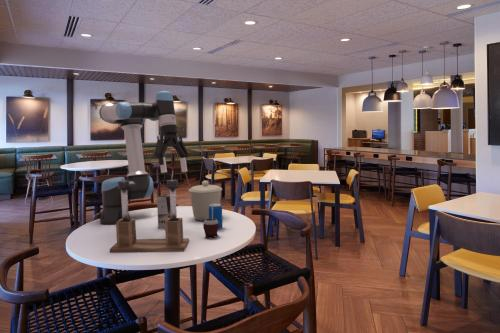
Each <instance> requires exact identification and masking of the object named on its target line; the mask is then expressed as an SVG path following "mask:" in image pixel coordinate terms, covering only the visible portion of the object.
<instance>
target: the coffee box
mask: <svg viewBox="0 0 500 333" xmlns="http://www.w3.org/2000/svg"><path fill="white" fill-rule="evenodd" d="M156 198H157V199H156V203H157V205H156V206H157V228H158V229H164V230H165V221H166V220H167V219H168V218H171V210H170V193H163V194H161V195H157V197H156Z"/></svg>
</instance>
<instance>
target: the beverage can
mask: <svg viewBox="0 0 500 333" xmlns="http://www.w3.org/2000/svg"><path fill="white" fill-rule="evenodd" d="M209 218H212V204H210V206H209ZM213 218H215V219H217V221H218V223H219V229H218V231H220V230H222V228H223V207H222V204H221V203H220V204H213Z"/></svg>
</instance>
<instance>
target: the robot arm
mask: <svg viewBox="0 0 500 333" xmlns="http://www.w3.org/2000/svg"><path fill="white" fill-rule="evenodd" d="M174 102H175V100H174V97H173V93H172V92H171V91H168V90H161V91H158V92H156V93H155V101H154V102H137V101H119V102H108V103H105V104H103V105H101V107H100V108H99V112H98V114H99V117H100V119H101V120H102V121H103V122H106V123H108V124H111V125H112V124H113V125H120V129H122V131H124V138H125V150H126V157H127V167H128V173H127V175H126V179H125V177H124V176H118V177H112V178H111V177H110V178H107V179H105V180H103V181H102V183H101V195H102V196H101V197H102V198H101V200H102V211H101V215H100V217H99V222H100V224H101V225H105V226H106V225H111V226H112V225H116V222H117V221H119V220H120V219H123V217H122V200H121V189H118V181H129V186H130V188H129V189H127V196H128V201H133V200H139V199H140V200H141V199H146V198H150V197H151V196H152V194H153V191H154V181H153V178H152V177H151V176H149V173H148V172H147V171H146V169H145V159H144V151H143V142H142V135H141V133H142V132H141V129H142V128H143V125H144V124H145V122H146V120H150V121H152V122H156V121H158V123H159V124H158V125H159V127H160V128H159V129H160V130H159V131H160V134H159V135H157V136H156V139H157V141H156V145H155V148H154V153H153V156H154V157H155V158H156V159H158V163H159V166H160V173H161V174H163V173H164V174H165V173H168V170H167V168H168V167H167V162H166V156H165V153H166V151H167V150H168V147H172V148H174V150H175V151H176V152H177V154H178V156H179V157H180V158H179V160H180V169H181V170H180V171H181V173H186V172H188V167H187V166H188V164H187V162H188V161H187V158H188V157H189V156H190V154H189V151H188V150H187V147H186V145H185V143H184V141H183V138H182V136H177V134H178V132H179V131H178V126H177V120H176V110H175V109H176V108H175V103H174ZM128 215H129V219H131V214H130V213H129V211H128Z"/></svg>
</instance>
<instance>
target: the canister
mask: <svg viewBox="0 0 500 333" xmlns="http://www.w3.org/2000/svg"><path fill="white" fill-rule="evenodd" d="M209 183H210V182H209V181H208V180H203V181H202V182H201V184H198V185H194V186H192V187H190V188H189V189H188V192H189V194H190V201H191V208H192V213H193V214H192V215H193V217H194V218H195V220H197V221H202V222H204V221H205V220H206V219H209V206H210V204H212V202H214V203H213V204H221V195H222V191H223V188H222V187H220V186H219V185H215V184H209Z"/></svg>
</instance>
